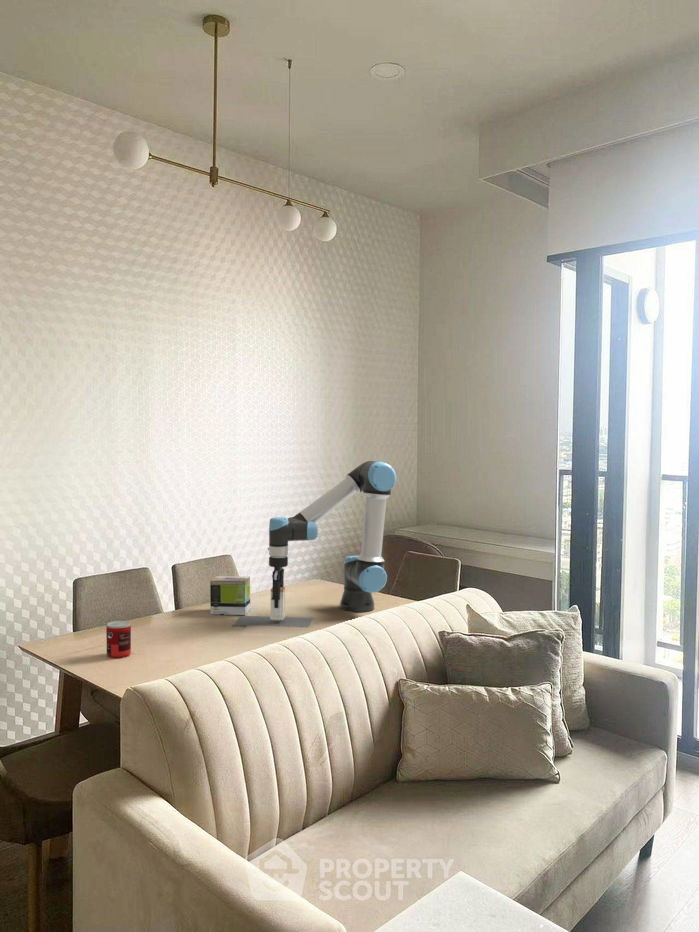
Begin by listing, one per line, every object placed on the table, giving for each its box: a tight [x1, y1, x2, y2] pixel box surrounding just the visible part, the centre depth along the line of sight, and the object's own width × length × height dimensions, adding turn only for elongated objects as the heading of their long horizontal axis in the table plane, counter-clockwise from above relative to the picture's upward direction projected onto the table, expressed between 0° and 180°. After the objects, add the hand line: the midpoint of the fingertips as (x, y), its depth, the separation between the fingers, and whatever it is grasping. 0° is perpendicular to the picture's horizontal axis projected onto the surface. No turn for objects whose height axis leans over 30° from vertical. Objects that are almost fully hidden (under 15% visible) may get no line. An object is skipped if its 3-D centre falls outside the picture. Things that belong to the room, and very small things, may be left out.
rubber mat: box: [232, 615, 314, 628], centre depth 289 cm, size 30×14×1 cm, turn 86°
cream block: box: [270, 586, 286, 620], centre depth 288 cm, size 5×5×12 cm
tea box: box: [209, 575, 251, 616], centre depth 304 cm, size 15×10×15 cm
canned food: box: [105, 620, 132, 659], centre depth 245 cm, size 8×8×11 cm
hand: (277, 613), depth 288 cm, fingers closed on cream block, 5 cm apart
